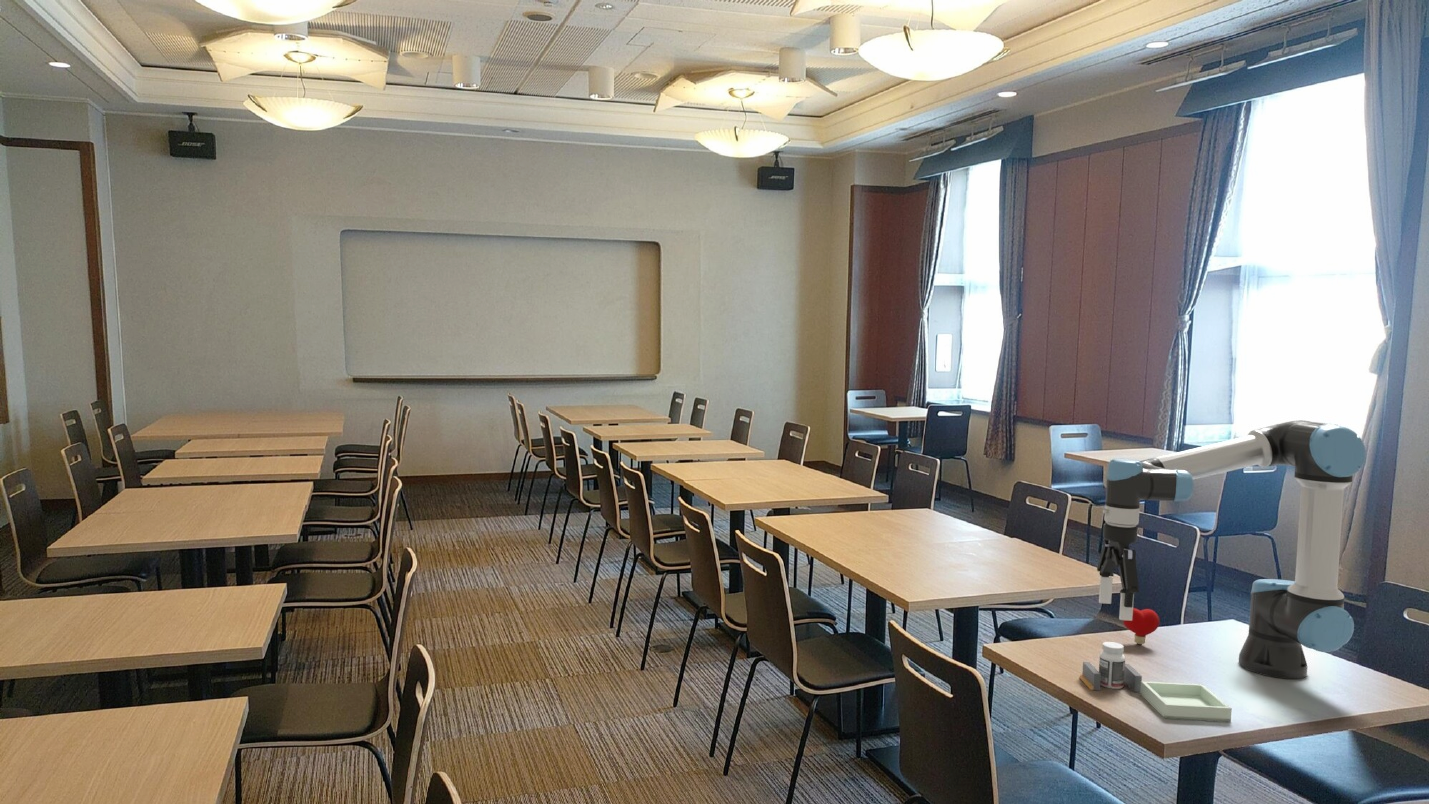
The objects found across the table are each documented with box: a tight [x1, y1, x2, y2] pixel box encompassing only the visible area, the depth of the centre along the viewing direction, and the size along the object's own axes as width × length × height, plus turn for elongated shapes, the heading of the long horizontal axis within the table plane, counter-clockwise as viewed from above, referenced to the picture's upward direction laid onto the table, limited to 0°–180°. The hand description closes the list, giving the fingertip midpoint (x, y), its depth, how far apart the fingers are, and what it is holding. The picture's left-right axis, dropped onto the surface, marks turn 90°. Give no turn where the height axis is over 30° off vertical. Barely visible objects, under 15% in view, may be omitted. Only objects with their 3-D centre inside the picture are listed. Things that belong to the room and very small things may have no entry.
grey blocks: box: [1079, 661, 1143, 693], centre depth 223 cm, size 12×8×4 cm, turn 86°
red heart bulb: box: [1122, 607, 1160, 646], centre depth 254 cm, size 9×7×10 cm
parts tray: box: [1140, 681, 1232, 723], centre depth 211 cm, size 14×14×3 cm
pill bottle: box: [1098, 641, 1126, 690], centre depth 223 cm, size 6×6×10 cm
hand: (1114, 611), depth 222 cm, fingers open, 13 cm apart
